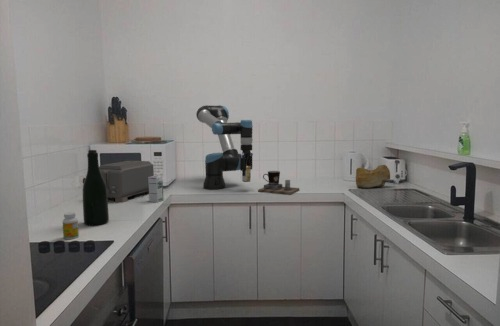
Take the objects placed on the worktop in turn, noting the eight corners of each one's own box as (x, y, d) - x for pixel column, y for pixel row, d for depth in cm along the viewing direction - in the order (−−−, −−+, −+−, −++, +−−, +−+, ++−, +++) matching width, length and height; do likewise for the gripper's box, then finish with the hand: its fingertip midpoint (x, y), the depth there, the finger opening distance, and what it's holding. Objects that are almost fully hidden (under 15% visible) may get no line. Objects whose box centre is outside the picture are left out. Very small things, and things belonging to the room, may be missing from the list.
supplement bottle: (60, 238, 144) (58, 214, 143) (71, 234, 149) (70, 211, 148) (70, 240, 142) (69, 215, 141) (81, 236, 147) (80, 212, 146)
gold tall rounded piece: (240, 181, 236) (240, 166, 235) (244, 180, 241) (244, 165, 239) (248, 182, 234) (248, 166, 232) (252, 180, 238) (252, 165, 237)
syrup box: (157, 202, 206) (157, 177, 204) (149, 201, 208) (148, 176, 206) (163, 200, 211) (162, 175, 210) (155, 199, 213) (154, 175, 212)
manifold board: (258, 192, 234) (257, 180, 233) (268, 187, 248) (268, 176, 247) (290, 194, 224) (290, 182, 223) (299, 190, 238) (299, 178, 237)
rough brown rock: (381, 185, 259) (380, 164, 258) (393, 187, 242) (392, 164, 242) (349, 187, 256) (348, 165, 256) (359, 189, 240) (358, 166, 239)
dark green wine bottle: (96, 218, 172) (92, 148, 169) (114, 221, 168) (110, 149, 165) (78, 224, 163) (73, 150, 159) (96, 227, 159) (92, 151, 155)
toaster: (91, 201, 210) (89, 166, 208) (131, 190, 243) (130, 160, 240) (118, 204, 203) (116, 167, 201) (156, 192, 236) (154, 161, 233)
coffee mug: (280, 184, 259) (280, 170, 258) (280, 187, 251) (280, 172, 250) (263, 184, 260) (263, 170, 259) (263, 186, 252) (262, 172, 251)
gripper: (245, 145, 224) (245, 182, 227) (257, 143, 240) (257, 178, 243) (234, 144, 228) (234, 181, 231) (247, 142, 244) (247, 177, 247)
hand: (246, 180), depth 237 cm, fingers closed on gold tall rounded piece, 5 cm apart
